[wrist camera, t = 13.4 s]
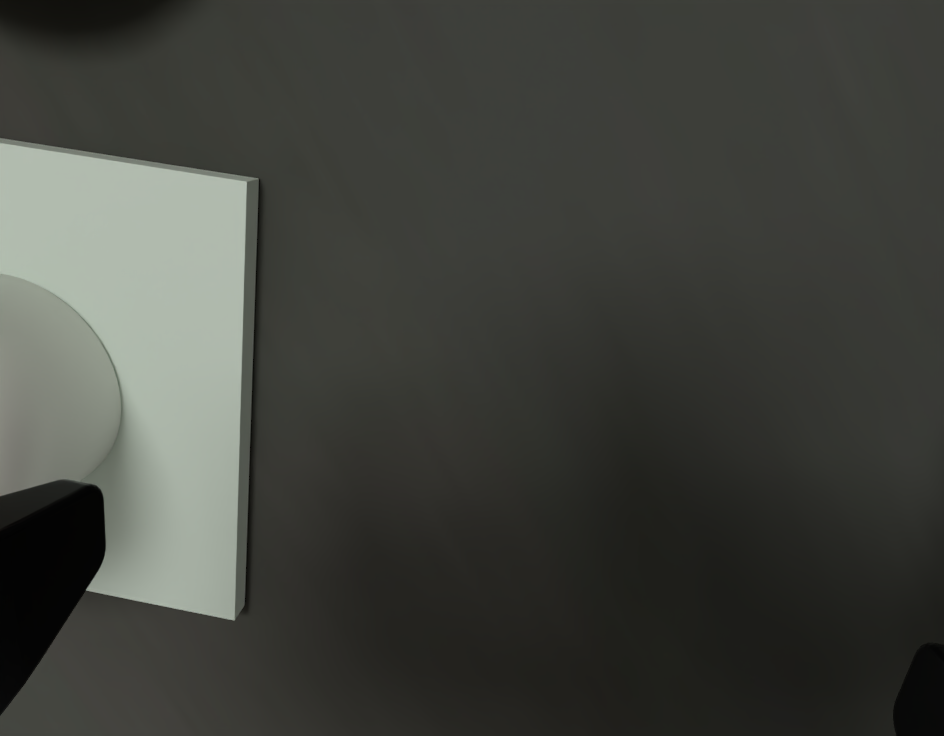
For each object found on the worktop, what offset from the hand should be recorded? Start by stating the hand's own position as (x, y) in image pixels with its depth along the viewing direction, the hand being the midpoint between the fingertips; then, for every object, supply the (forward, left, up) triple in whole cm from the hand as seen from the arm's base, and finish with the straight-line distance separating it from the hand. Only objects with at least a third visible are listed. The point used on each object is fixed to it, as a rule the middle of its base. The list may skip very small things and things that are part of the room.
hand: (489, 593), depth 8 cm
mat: (+15, +5, -13) cm, 20 cm away
